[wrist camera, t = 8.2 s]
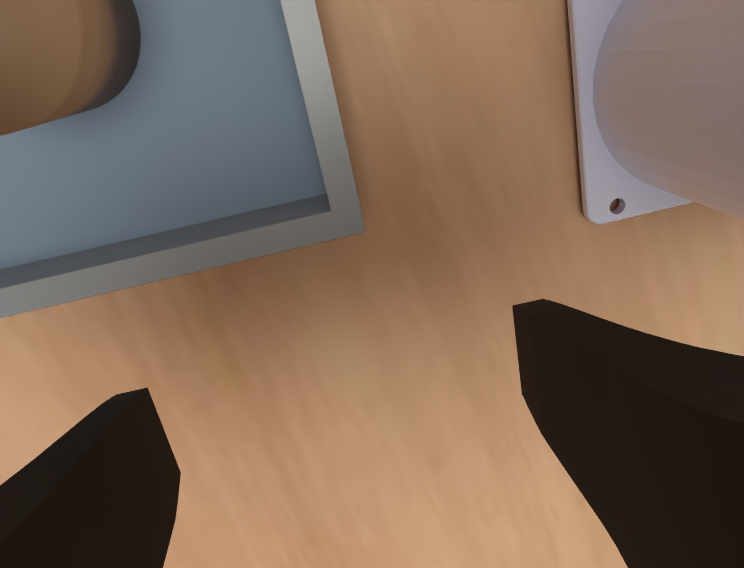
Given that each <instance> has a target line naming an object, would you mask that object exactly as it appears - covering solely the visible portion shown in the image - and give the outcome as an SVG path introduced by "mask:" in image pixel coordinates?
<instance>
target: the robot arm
mask: <svg viewBox="0 0 744 568" xmlns="http://www.w3.org/2000/svg"><path fill="white" fill-rule="evenodd" d="M567 4H568V17H569V30H570V44H571V57H572V71H573V84H574V97H575V111H576V124H577V138H578V151H579V164H580V178H581V191H582V205H583V213H584V216H585V217H586V218H587V219H588V220H589V221H591V222H593V223H595V224H605V223H609V222H613V221H618V220H622V219H626V218H630V217H634V216H638V215H643V214H647V213H651V212H655V211H659V210H664V209H668V208H672V207H676V206H680V205H684V204H689V203H693V202H696V203H698V204H701V205H704V206H706V207H709V208H712V209H714V210H717V211H720V212H722V213H725V214H728V215H730V216H733V217H736V218H738V219H741V220H744V0H567ZM617 198H618V199H619V206H618V207H617V208H616V209H615V210H613V211H610V204H611V202H612V201H613V200H615V199H617ZM512 308H513V317H514V326H515V335H516V344H517V353H518V362H519V371H520V380H521V389H522V395H523V397H524V399H525V401H526V403H527V406H528V408H529V410H530V412H531V414H532V416H533V418H534V420H535V422H536V424H537V426H538V428H539V430H540V432H541V434H542V435H543V437H544V438H545V440H546V442H547V443H548V445H549V446H550V448H551V449H552V451H553V452H554V453H555V455H556V456H557V458H558V459H559V461H560V462H561V464H562V465H563V467H564V468H565V470H566V471H567V473H568V474H569V476H570V477H571V478H572V480H573V481H574V483H575V484H576V486H577V487H578V489H579V490H580V492H581V493H582V494H583V496H584V497H585V499H586V500H587V502H588V503H589V505H590V506H591V508H592V509H593V510H594V512H595V513H596V515H597V516H598V518H599V519H600V521H601V522H602V524H603V525H604V527H605V528H606V530H607V532H608V533H609V535H610V537H611V538H612V540H613V541H614V543H615V545H616V546H617V548H618V550H619V552H620V554H621V556H622V557H623V559H624V561H625V563H626V565H627V567H628V568H744V356H739V355H733V354H728V353H724V352H719V351H714V350H709V349H704V348H700V347H695V346H691V345H687V344H683V343H679V342H675V341H671V340H668V339H664V338H661V337H658V336H654V335H651V334H647V333H644V332H641V331H637V330H634V329H631V328H628V327H625V326H622V325H619V324H616V323H613V322H610V321H608V320H605V319H602V318H599V317H596V316H593V315H591V314H588V313H585V312H582V311H580V310H577V309H574V308H571V307H568V306H565V305H563V304H560V303H556V302H553V301H550V300H545V299H540V300H536V301H531V302H527V303H522V304H518V305H513V306H512ZM180 474H181V472H180V470H179V467H178V465H177V462H176V459H175V457H174V454H173V452H172V449H171V447H170V444H169V442H168V439H167V436H166V434H165V431H164V429H163V426H162V424H161V421H160V418H159V416H158V413H157V411H156V408H155V406H154V403H153V400H152V398H151V395H150V393H149V390H148V388H144V389H139V390H135V391H130V392H126V393H121V394H117V395H115V396H113V397H112V398H110V399H108V400H107V401H105V402H104V403H103V404H101V405H100V406H99V407H97V408H96V409H95V410H93V411H92V412H91V413H90V414H88V415H87V416H86V417H85V418H83V419H82V420H81V421H80V422H79V423H77V424H76V425H75V426H74V427H73V428H71V429H70V430H69V431H68V432H67V433H65V434H64V435H63V436H62V437H60V438H59V439H58V440H57V441H56V442H54V443H53V444H52V445H51V446H50V447H48V448H47V449H46V450H45V451H44V452H42V453H41V454H40V455H39V456H38V457H36V458H35V459H34V460H33V461H31V462H30V463H29V464H27V465H26V466H25V467H24V468H22V469H21V470H20V471H18V472H17V473H16V474H15V475H13V476H12V477H11V478H9V479H8V480H7V481H5V482H4V483H3V484H2V485H0V568H163V565H164V561H165V558H166V554H167V550H168V546H169V542H170V538H171V535H172V531H173V527H174V523H175V518H176V510H177V503H178V494H179V484H180Z"/></svg>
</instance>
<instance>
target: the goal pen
mask: <svg viewBox="0 0 744 568" xmlns="http://www.w3.org/2000/svg"><path fill="white" fill-rule="evenodd" d="M132 1H133V3H134V6H135V8H136V12H137V15H138V19H139V25H140V32H141V46H140V55H139V59H138V63H137V66H136V69H135V71H134V73H133V76H132V77H131V79H130V81H129V82H128V84H127V85H126V86H125V88H124V89H123V90H122V91H121V92H120V93H119V94H118V95H117V96H116V97H115V98H113V99H112V100H110V101H109V102H107V103H106V104H104V105H102V106H100V107H98V108H95V109H92V110H89V111H85V112H82V113H78V114H75V115H72V116H68V117H65V118H61V119H58V120H55V121H51V122H48V123H44V124H41V125H38V126H34V127H31V128H27V129H24V130H20V131H17V132H14V133H10V134H7V135H1V136H0V318H3V317H7V316H12V315H16V314H20V313H24V312H29V311H33V310H37V309H41V308H46V307H50V306H54V305H58V304H62V303H67V302H71V301H75V300H79V299H84V298H88V297H92V296H96V295H101V294H105V293H109V292H113V291H117V290H122V289H126V288H130V287H134V286H139V285H143V284H147V283H151V282H155V281H160V280H164V279H168V278H172V277H177V276H181V275H185V274H189V273H194V272H198V271H202V270H206V269H210V268H215V267H219V266H223V265H227V264H232V263H236V262H240V261H244V260H249V259H253V258H257V257H261V256H265V255H270V254H274V253H278V252H282V251H287V250H291V249H295V248H299V247H304V246H308V245H312V244H316V243H320V242H325V241H329V240H333V239H337V238H342V237H346V236H350V235H354V234H359V233H363V232H366V230H365V225H364V221H363V216H362V212H361V207H360V203H359V198H358V194H357V189H356V185H355V180H354V176H353V171H352V167H351V162H350V158H349V153H348V149H347V144H346V140H345V135H344V131H343V126H342V122H341V117H340V113H339V108H338V104H337V99H336V95H335V90H334V86H333V81H332V77H331V72H330V68H329V63H328V58H327V54H326V49H325V45H324V40H323V36H322V31H321V27H320V22H319V18H318V13H317V9H316V4H315V0H132Z"/></svg>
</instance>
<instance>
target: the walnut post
mask: <svg viewBox="0 0 744 568" xmlns="http://www.w3.org/2000/svg"><path fill="white" fill-rule="evenodd" d="M140 46H141V32H140V25H139V19H138V15H137V12H136V8H135V6H134V3H133V1H132V0H0V136H1V135H7V134H10V133H14V132H17V131H20V130H24V129H27V128H31V127H34V126H38V125H41V124H44V123H48V122H51V121H55V120H58V119H61V118H65V117H68V116H72V115H75V114H78V113H82V112H85V111H89V110H92V109H95V108H98V107H100V106H102V105H104V104H106V103H107V102H109V101H110V100H112V99H113V98H115V97H116V96H117V95H118V94H119V93H120V92H121V91H122V90H123V89H124V88H125V86H126V85H127V84H128V82H129V81H130V79H131V77H132V76H133V73H134V71H135V69H136V66H137V63H138V59H139V55H140Z"/></svg>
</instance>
